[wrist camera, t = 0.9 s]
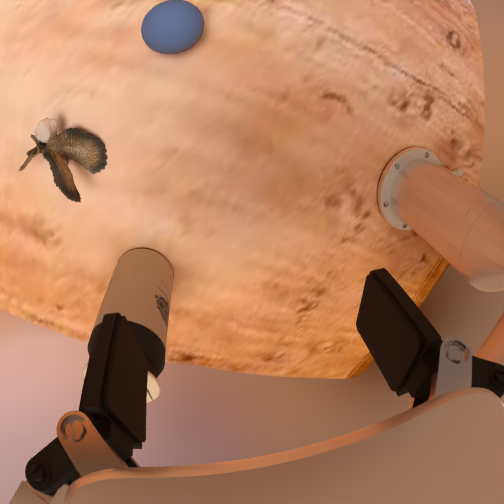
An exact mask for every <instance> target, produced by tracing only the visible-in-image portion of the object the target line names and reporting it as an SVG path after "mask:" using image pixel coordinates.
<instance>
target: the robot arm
mask: <svg viewBox="0 0 504 504" xmlns="http://www.w3.org/2000/svg"><path fill="white" fill-rule="evenodd" d="M461 176H463V170H462V168H460V167H458V168H456V169H453V170H450V169H448V168H446V167H444V166H443V164H442V162H441V161H440V159H439V158H438V157H437V155H436V154H435V153H433V152H431V151H430V150H427V149H425V148H422V147H410V148H407V149H404V150H403V151H401V152H399V153H398V154H397V155H395V156H394V157H393V158H392V159H391V161H390V162H389V163H388V164H387V166H386V168H385V169H384V171H383V173H382V176H381V179H380V181H379V186H378V196H377V199H378V206H379V209H380V212H381V214H382V216H383V218H384V219H385V220H386V221H387V222H388V223H389V224H390V225H391V226H393V227H394V228H396V229H399V230H413V231H415V232H416V233H417V234H418V235H419V236H420V237H421V238H423V239H424V240H425V241H426V242H427V243H428V244H429V245H430V246H431V247H432V248H434V249H435V250H436V251H437V252H438V253H439V254H440V255H441V256H442V257H443V258H444V259H445V260H446V261H447V262H448V263H449V264H450V265H452V266H453V267H454V268H455V269H456V270H457V271H458V272H459V273H460V274H461V275H462V276H463V277H464V278H465V279H466V280H467V281H468V282H469V283H470V284H471V285H472V286H474V287H475V288H477V289H479V290H482V291H486V292H495V291H502V290H504V203H502V202H501V201H499V200H497V199H496V198H494V197H492V196H491V195H489V194H488V193H486V192H484V191H483V190H481V189H479V188H478V187H476V186H474V185H472V184H471V183H469V182H468V180H467V179H465V178H463V179H462V178H460V177H461ZM356 327H357V330H358V332H359V333H360V335H361V337H362V339H363V340H364V342H365V344H366V346H367V347H368V349H369V351H370V353H371V354H372V356H373V358H374V360H375V361H376V363H377V365H378V367H379V368H380V370H381V372H382V374H383V376H384V378H385V379H386V381H387V383H388V385H389V387H390V389H391V390H392V391H395V392H396V393H397V395H398V396H401V395H403V394H405V393H407V392H409V393H410V395H411V401H410V405H409V409H408V410H407V411H405V412H403V413H400V414H398V415H396V416H394V417H391V418H389V419H386V420H384V421H381V422H379V423H377V424H374V425H371V426H368V427H366V428H363V429H361V430H357V431H354V432H352V433H349V434H346V435H343V436H340V437H336V438H333V439H330V440H327V441H323V442H320V443H316V444H313V445H309V446H306V447H301V448H297V449H293V450H289V451H285V452H280V453H275V454H271V455H265V456H260V457H254V458H248V459H242V460H235V461H228V462H220V463H210V464H199V465H186V466H167V467H140V466H139V464H138V463H137V462H136V461H135V460H134V459H133V458H132V455H133V449H142V442H145V440H146V403H147V381H148V362H147V359H146V357H145V355H144V353H143V351H142V349H141V347H140V345H139V343H138V341H137V339H136V337H135V335H134V333H133V331H132V329H131V327H130V325H129V323H128V321H127V319H126V317H125V316H121V314H120V313H119V312H117V313H108V314H105V315H104V316H103V320H102V323H101V327H100V331H99V335H98V339H97V343H96V347H95V349H93V350H92V351H91V354H90V357H89V362H88V366H87V370H86V375H85V380H84V385H83V390H82V395H81V400H80V406H79V411H70V412H68V413H66V414H64V415H63V416H62V417H61V418H60V420H59V422H58V425H57V435H58V437H57V438H56V439H54V440H53V441H52V442H51V443H49V444H48V445H47V446H46V447H45V448H43V449H42V450H41V451H40V452H39V453H37V454H36V455H35V456H34V457H33V458H31V459H30V460H29V462H28V463H27V465H26V470H25V474H26V479H27V480H26V482H25V481H22V482H21V484H20V486H19V487H18V489H17V491H16V492H15V494H14V496H13V497H12V499H11V501H10V503H9V504H504V311H503V313H502V315H501V316H500V318H499V319H498V321H497V323H496V324H495V326H494V327H493V328H492V330H491V331H490V333H489V334H488V336H487V337H486V339H485V340H484V342H483V343H482V345H481V346H480V347H479V349H478V350H477V352H476V354H475V355H474V356H472V352H471V349H470V347H469V346H468V345H467V343H466V342H464V341H463V340H461V339H458V338H453V337H452V338H448V339H446V340H444V341H442V340H441V336H440V335H439V334H438V332H437V331H436V330H435V328H434V327H433V326H432V325H431V323H430V322H429V321H428V319H427V318H426V317H425V316H424V314H423V313H422V312H421V311H420V309H419V308H418V307H417V306H416V304H415V303H414V302H413V301H412V299H411V298H410V297H409V296H408V295H407V293H406V292H405V291H404V290H403V289H402V287H401V286H400V285H399V284H398V283H397V282H396V280H395V279H394V278H393V277H392V276H391V275H390V273H389V272H388V271H387V270H386V269H385V268H382V269H377V270H372V271H371V272H370V273H369V275H367V277H366V281H365V286H364V290H363V295H362V300H361V304H360V308H359V313H358V317H357V321H356Z"/></svg>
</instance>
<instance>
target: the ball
mask: <svg viewBox="0 0 504 504" xmlns="http://www.w3.org/2000/svg"><path fill="white" fill-rule="evenodd" d="M203 27H204V20H203V17H202V14H201V12H200V11H199V9H198V8H197V7H196V6H194V5H193V4H191V3H189V2H187V1H183V0H168V1H165V2H162V3H160V4H158V5H156V6H155V7H153V8H152V9H151V10H150V11H149V12H148V13H147V15H146V16H145V18H144V20H143V22H142V27H141V33H142V37H143V40H144V41H145V43H146V44H147V45H148V46H149V47H150V48H151V49H153V50H154V51H156V52H159V53H164V54H174V53H179V52H182V51H184V50H186V49H188V48H190V47H191V46H192V45H194V44H195V43H196V42H197V40H198V39H199V38H200V36H201V34H202V31H203Z"/></svg>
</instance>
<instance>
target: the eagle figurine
mask: <svg viewBox="0 0 504 504" xmlns="http://www.w3.org/2000/svg"><path fill="white" fill-rule="evenodd" d="M35 134H36V137H35V136H34V135H31V137H32V138H33V140H34V141H35V142H36V144H37V146H36V147H35V148H33V149H32V150H30V151H28V152H27V155H28V158H27V159H26V161H25V163H24V164H23V165H22V166H21V167H20V169H19V171H22V170H23V169H24V168H26V166H27V165H28V163H29V162H30V161H31V159H32V158H33V157H34V156H36V155H38V154H39V153H43V156H44V159H47V161H49V164H50V169H51V170H52V172H53V176H54V183H55V184H56V186H57V187H59V189H60V190H61V192H62V193H63V194H64V195H65V196H66V197H67V198H68V199H70V200H72V201H75V202H77V201H78V202H81V201H80V200H81V198H80V194H79V192H78V190H77V188H76V186H75V184H74V180H73V175H72V173H71V171H70V169H69V168H68V166H67V161H66V159H65V158H69V159H72V160H75V161H76V162H78V163H79V164H81V165H83V166H84V167H85V168H86V169H87V170H89V171H90V172H91V173H92V174H95V173H96V172H100V170H101V169H102V170H103V169H105V166H106V165H107V162H106V160H107V156H106V154H105V153H106V150H105V149H104V148H105V145H104V144H103V143H102V142H101V140H100V139H98V138H97V137H93V136H92V135H90V134H88V135H87V133H84V132H81V130H79V129H76V128H69V129H66V131H64V132H62V134H61V133H60V134H59V135H57V121H56V120H54V119H48V118H46V119H44V120H41V121H40V122H39V123H38V125H37V128H36V132H35Z"/></svg>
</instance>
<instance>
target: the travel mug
mask: <svg viewBox="0 0 504 504" xmlns="http://www.w3.org/2000/svg"><path fill="white" fill-rule="evenodd" d="M172 283H173V270H172V267H171V265H170V264H169V262H168V261H167V260H166V259H165V258H164V257H163V256H162V255H160V254H159V253H157V252H155V251H152V250H149V249H133V250H130V251H128V252H126V253H125V254H124V255H123V256H122V257H121V258H120V259H119V261H118V264H117V266H116V268H115V271H114V273H113V276H112V278H111V281H110V283H109V286H108V289H107V291H106V294H105V297H104V299H103V302H102V305H101V307H100V310H99V313H98V316H97V319H96V322H95V325H94V328H93V331H92V334H91V337H90V340H89V343H88V352H89V356H90V354H91V351H92V350H93V349H95V347H96V343H97V339H98V335H99V331H100V327H101V323H102V320H103V316H104V315H105V314H108V313H117V312H119V313H120V314H121V316H125V317H126V319H127V321H128V323H129V325H130V327H131V329H132V331H133V333H134V335H135V337H136V339H137V341H138V343H139V345H140V347H141V349H142V351H143V353H144V355H145V357H146V359H147V362H148V381H147V403H148V402H150V401H153V400H154V399H155V398H157V397H158V395H159V393H160V384H159V382H158V380H157V377H158V376H159V374H160V373H161V372H162V370H163V369H164V365H165V352H166V340H167V329H168V319H169V309H170V300H171V292H172ZM87 366H88V363H87V364H86V365H85V367H84V369H83V376H84V379H85V375H86V370H87Z"/></svg>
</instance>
